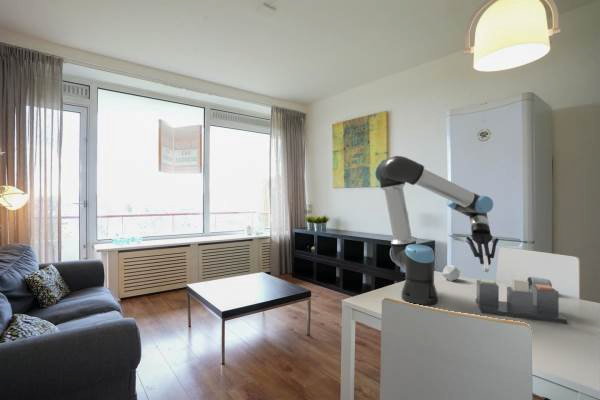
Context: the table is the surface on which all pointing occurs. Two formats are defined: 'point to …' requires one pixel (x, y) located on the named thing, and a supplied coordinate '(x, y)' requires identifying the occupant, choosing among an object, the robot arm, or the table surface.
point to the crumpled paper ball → (451, 273)
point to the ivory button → (519, 284)
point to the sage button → (487, 282)
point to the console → (520, 303)
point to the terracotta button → (544, 287)
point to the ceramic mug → (538, 281)
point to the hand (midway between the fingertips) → (486, 270)
